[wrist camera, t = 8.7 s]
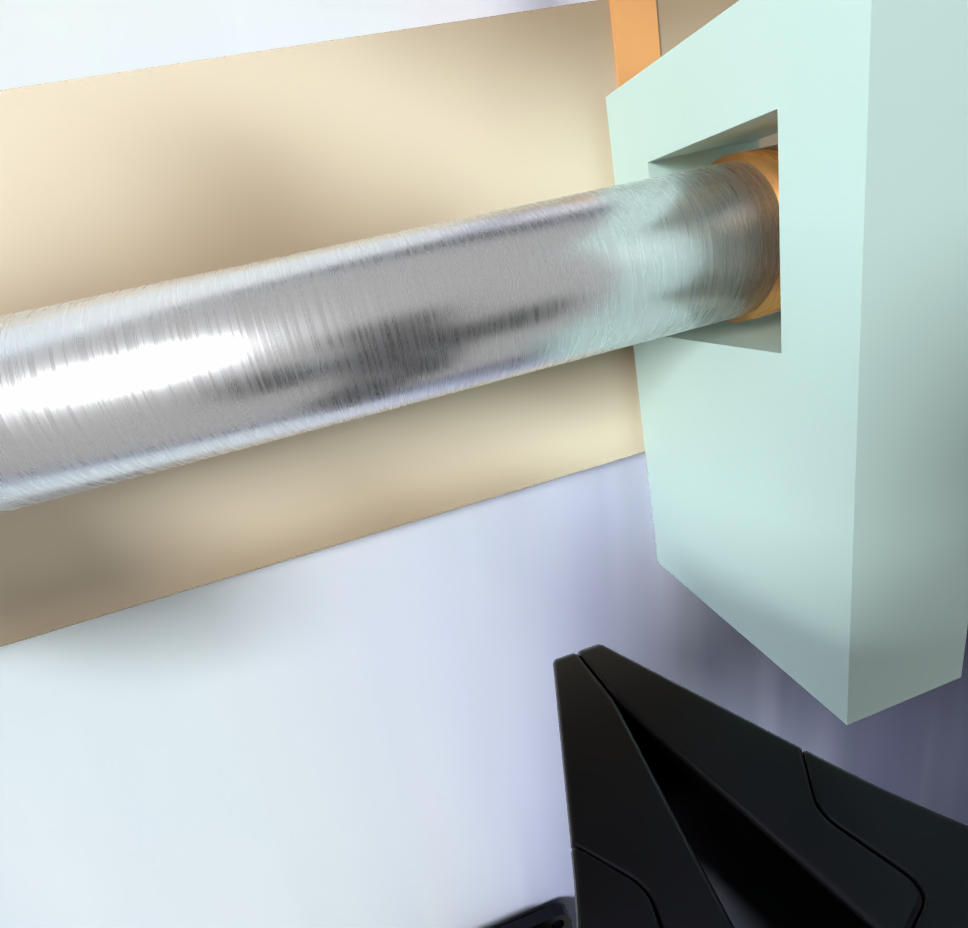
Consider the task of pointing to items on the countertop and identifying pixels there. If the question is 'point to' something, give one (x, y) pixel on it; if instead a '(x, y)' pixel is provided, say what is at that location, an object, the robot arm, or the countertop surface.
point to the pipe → (376, 324)
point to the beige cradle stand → (302, 227)
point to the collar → (822, 343)
